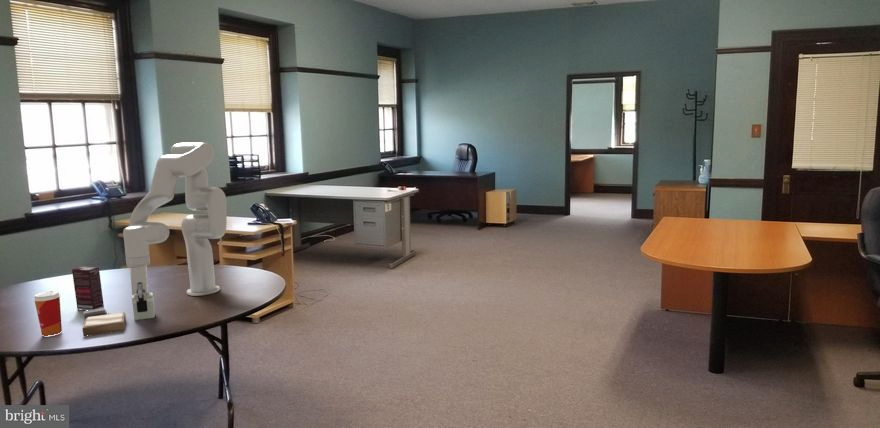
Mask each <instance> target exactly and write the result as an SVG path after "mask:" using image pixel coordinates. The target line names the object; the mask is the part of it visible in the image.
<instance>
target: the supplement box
mask: <svg viewBox="0 0 880 428" xmlns="http://www.w3.org/2000/svg"><path fill="white" fill-rule="evenodd" d="M71 272H72V281H73V287H74V294H75V302H76V309H82V310H81V311H83V310H94V309H99V308H104V309H105V305H104V297H103V289H102V282H101V281H102V280H101V274H100V267H98V266H82V265H81V266H78V267H75V268H72V269H71Z"/></svg>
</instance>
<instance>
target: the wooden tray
mask: <svg viewBox="0 0 880 428" xmlns="http://www.w3.org/2000/svg"><path fill="white" fill-rule="evenodd" d="M126 315H127V314H126V312H125V311H124V312H123V311H122V312H116V313H107V315H100V316H93V317H87V318H86V320H85V322H83V325H82V327H81V328H82V335H83V336H86V337H91V336H90V335H92V336H98V334H99V335H104V334H111V332H112V333H118V331H119V332H123V331H125V329H126V328H125V327H126V322H127V317H126ZM87 335H88V336H87Z"/></svg>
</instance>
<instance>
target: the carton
mask: <svg viewBox="0 0 880 428" xmlns="http://www.w3.org/2000/svg"><path fill="white" fill-rule="evenodd" d="M145 297H146V300H147V309H148V310H147V311H146V312H139V313H138V312H137V303H136V301H137V295H136V294H134V295H132V296H131V302H132V303H131V304H132V310H133V316H134V317H133V319H134V321H138V320H139V319H140V320H145V319H152V318H155V316H156V310H155V301H154V294H153V292H147V293H146V294H145ZM140 320H139V321H140Z"/></svg>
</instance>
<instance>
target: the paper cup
mask: <svg viewBox="0 0 880 428" xmlns="http://www.w3.org/2000/svg"><path fill="white" fill-rule="evenodd" d="M60 298H61V294H60V293H59V291H57V290H53V291H51V290H50V291H43V292H39V293H36V294H35V295H34V296H33V299H32V300H33V301H34V305H35V310H36V313H37V317H38V323H39V327H40V332H41V336H42V335H44V336H48V335H54V334H58V333H60V332H61V331H63V330H62V329H63V327H62V313H61V312H62V311H61V299H60Z"/></svg>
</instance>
